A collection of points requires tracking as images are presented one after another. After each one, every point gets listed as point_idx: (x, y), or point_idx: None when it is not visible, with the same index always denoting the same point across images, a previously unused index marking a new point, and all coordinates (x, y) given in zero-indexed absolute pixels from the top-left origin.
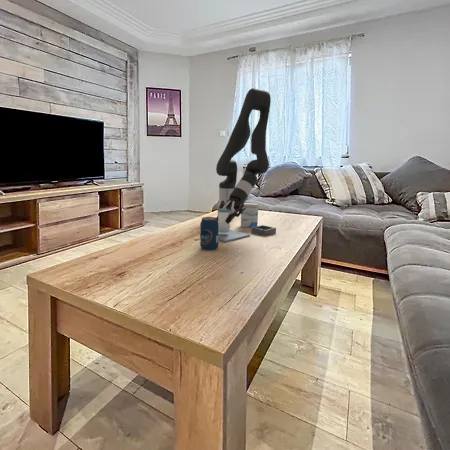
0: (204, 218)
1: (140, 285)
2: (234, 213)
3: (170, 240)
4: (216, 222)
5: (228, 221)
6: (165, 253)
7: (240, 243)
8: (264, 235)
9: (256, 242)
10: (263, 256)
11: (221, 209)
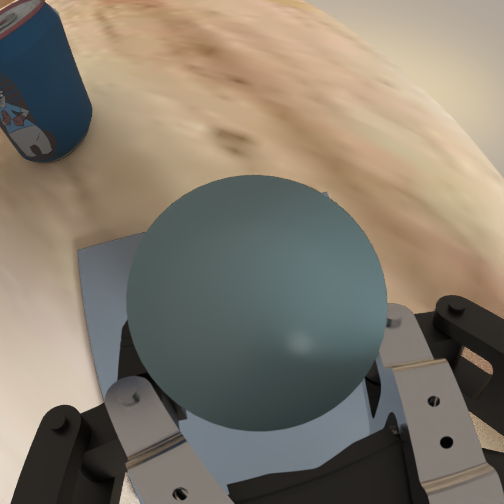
0: (38, 5)
1: None
2: (65, 408)
3: (276, 60)
4: None
5: None
6: (127, 25)
7: (26, 328)
8: None
9: (9, 425)
10: None
11: (259, 223)
